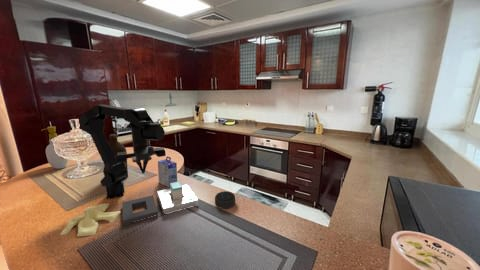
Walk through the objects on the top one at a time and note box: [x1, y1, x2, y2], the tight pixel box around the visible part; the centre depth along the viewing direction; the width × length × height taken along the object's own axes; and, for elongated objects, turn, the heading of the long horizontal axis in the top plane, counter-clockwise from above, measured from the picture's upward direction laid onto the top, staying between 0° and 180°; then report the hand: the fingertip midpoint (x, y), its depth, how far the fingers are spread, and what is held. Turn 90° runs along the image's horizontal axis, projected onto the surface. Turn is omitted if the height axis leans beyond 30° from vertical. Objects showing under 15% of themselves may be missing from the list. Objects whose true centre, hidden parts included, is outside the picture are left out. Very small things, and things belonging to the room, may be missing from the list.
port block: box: [156, 184, 199, 215], centre depth 88 cm, size 14×16×3 cm
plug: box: [169, 181, 183, 201], centre depth 87 cm, size 4×6×8 cm, turn 30°
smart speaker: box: [214, 190, 236, 209], centre depth 87 cm, size 9×9×4 cm
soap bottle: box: [40, 126, 68, 170], centre depth 122 cm, size 14×9×26 cm, turn 67°
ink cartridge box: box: [157, 156, 178, 188], centre depth 104 cm, size 10×6×14 cm, turn 53°
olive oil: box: [109, 133, 129, 180], centre depth 108 cm, size 11×11×25 cm
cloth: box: [59, 202, 122, 237], centre depth 74 cm, size 22×19×6 cm
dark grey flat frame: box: [121, 195, 159, 226], centre depth 81 cm, size 12×14×2 cm
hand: (143, 173), depth 86 cm, fingers closed
